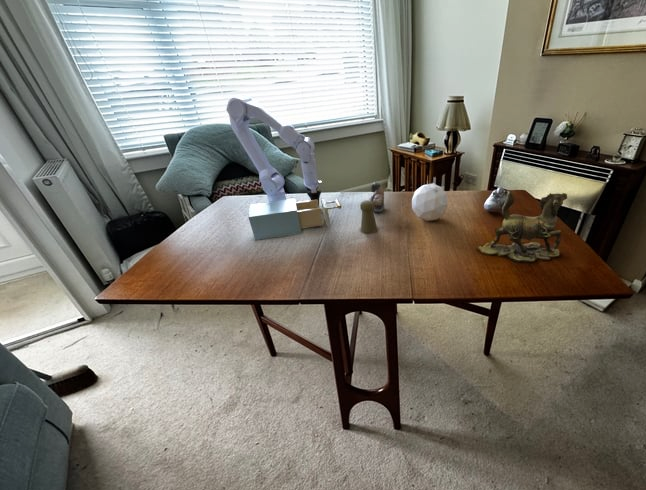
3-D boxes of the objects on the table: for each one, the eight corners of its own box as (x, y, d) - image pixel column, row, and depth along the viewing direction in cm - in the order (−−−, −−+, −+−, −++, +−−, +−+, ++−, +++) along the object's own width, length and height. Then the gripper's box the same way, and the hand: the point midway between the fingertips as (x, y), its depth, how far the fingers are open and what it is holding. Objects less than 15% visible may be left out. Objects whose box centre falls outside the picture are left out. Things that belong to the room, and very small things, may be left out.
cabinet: (299, 219, 125) (294, 198, 119) (301, 232, 115) (296, 210, 109) (256, 226, 121) (250, 204, 116) (255, 240, 111) (248, 217, 106)
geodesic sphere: (463, 208, 114) (449, 172, 113) (434, 218, 107) (419, 180, 107) (439, 220, 127) (427, 188, 127) (413, 229, 121) (399, 195, 120)
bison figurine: (384, 214, 126) (383, 190, 121) (367, 214, 126) (366, 191, 121) (384, 203, 136) (383, 181, 130) (368, 204, 136) (367, 181, 131)
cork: (377, 226, 117) (376, 198, 111) (375, 233, 112) (374, 204, 106) (362, 225, 118) (360, 198, 112) (359, 232, 113) (357, 204, 107)
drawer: (339, 212, 127) (337, 195, 123) (344, 223, 118) (342, 205, 114) (287, 220, 123) (283, 202, 119) (288, 231, 114) (284, 213, 109)
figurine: (565, 265, 91) (589, 200, 79) (478, 259, 95) (489, 197, 83) (554, 244, 101) (573, 184, 90) (476, 240, 105) (485, 182, 94)
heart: (513, 211, 124) (513, 181, 118) (507, 219, 117) (507, 188, 112) (488, 210, 129) (487, 182, 124) (481, 218, 123) (480, 189, 117)
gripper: (322, 175, 116) (327, 208, 124) (317, 165, 128) (322, 197, 136) (303, 177, 115) (309, 211, 122) (300, 167, 126) (306, 199, 134)
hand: (315, 204), depth 129 cm, fingers open, 7 cm apart
